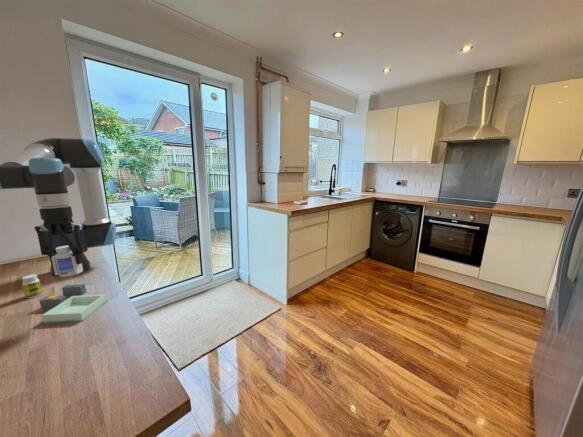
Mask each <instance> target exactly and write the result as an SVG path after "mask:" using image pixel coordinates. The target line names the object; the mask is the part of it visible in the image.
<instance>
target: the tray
mask: <svg viewBox="0 0 583 437" xmlns="http://www.w3.org/2000/svg"><path fill="white" fill-rule="evenodd" d="M107 303H108V297H107V294H105V293H104V294H88V295H84V294H82V295H71V296H69V298H66V300H65V301H64V302H62V303H61V304H59V305H57V306H56V307H54V308H52V309H48V311H46V312H45V313H43V314H42V315H41V318H42V322H43V324H55V323H56V324H57V323H74V322H75V323H76V322H83V321H85V320H86V319H87V318H89V317H90V316H91V315H92V314H94V313H96V311H98V310H99V309H100V308H101V307H103V305H105V304H107Z"/></svg>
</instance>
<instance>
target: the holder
mask: <svg viewBox="0 0 583 437" xmlns="http://www.w3.org/2000/svg"><path fill="white" fill-rule="evenodd" d="M61 290H62V295H58V294H56V295H50V296H45V297H43V298H41V299H39V305H40V309H41V310H51V309H53V308H54V307H56V306H57V305H59V304H61V303H62V302H64V301H65V300H67V297H68V296H69V297H70V296H83V295H84V294H85V293H87V289H86V284H85V283H82V284H81V283H80V284H66V285H64V286H62V287H61ZM66 296H67V297H66Z"/></svg>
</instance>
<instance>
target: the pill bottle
mask: <svg viewBox="0 0 583 437" xmlns="http://www.w3.org/2000/svg"><path fill="white" fill-rule="evenodd" d="M56 252H57V253H58V254H56V255H55V261H56V265H57V269H58V274H59V276H58V277H65V278H66V277H69V276H74V275H76V274H75V273H74V269H73V264H72V259H71V255H73V253H72V251H71V249H70V248H69V246H68V245H66V246H61V247H57V248H56Z"/></svg>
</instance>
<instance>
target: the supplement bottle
mask: <svg viewBox="0 0 583 437" xmlns="http://www.w3.org/2000/svg"><path fill="white" fill-rule="evenodd" d="M21 279H22V284H21V285H22V289H23V294H24V297H25V298H26V299H33V298H37V297H39V296H42V294H43V291H42V290H43V289H42V286H41V281H40V279H39V278H38V275H37V274H29V275H25V276H23V277H22V278H21Z"/></svg>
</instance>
